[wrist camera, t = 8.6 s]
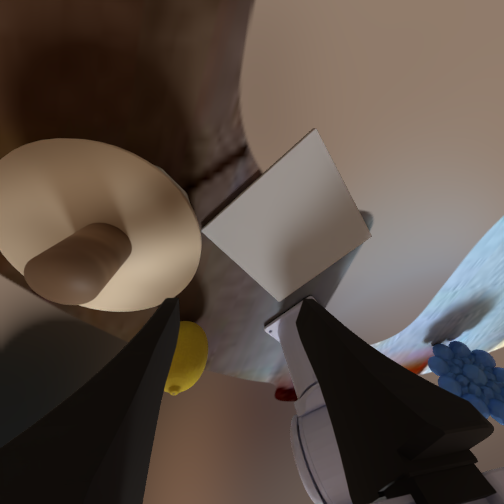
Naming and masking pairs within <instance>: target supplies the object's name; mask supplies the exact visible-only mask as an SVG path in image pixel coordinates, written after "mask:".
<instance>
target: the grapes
mask: <svg viewBox="0 0 504 504" xmlns="http://www.w3.org/2000/svg"><path fill="white" fill-rule="evenodd" d="M448 346H449V347H448ZM448 346H446V345H444V344H435V345H434V346H433V353H434V355H435V356H433V357H430V358H429V360H428V365H429V368H430V369H431V371H432V372H434V373H435V374H436V375H439V376H440V377H439V379H438V385H439V387H441V388H443V389H445V390H447V391H449V392H451V393H453V394H455V395H457V396H459V397H461V398H463V399H465V400H467V401H469V402H470V403H471V404H472V405H473V406H474V407H475V408H476V409H477V410H478V411H479V412H480V413H481V414H482V415H483V416H484V417H485V418H486V419H488V417H489V416H490V415H491V417H492V418H494V419H495V420H496V421H497V422H499V423H500V424H501V425H504V368H499V367H496V368H494V367H495V366H496V363H495V360H494V359H493V357H492V356H491V355H490V354H489V353H487V352H485V351H483V350H477V349H476V350H473V351H472V352H471V351H470V350H469V348H468V347H467V346H466V345H465V344H464V343H462V342H458V341H453V342H450V344H449V345H448Z"/></svg>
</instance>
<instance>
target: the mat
mask: <svg viewBox="0 0 504 504" xmlns="http://www.w3.org/2000/svg"><path fill="white" fill-rule="evenodd" d="M201 231H202V232H203V233H204V234H205V235H206V236H207V237H208V238H209V239H210V240H211V241H213V242H214V243H215V244H216V245H217V246H218V247H219V248H220V249H221V250H222V251H224V252H225V253H226V254H227V255H228V256H229V257H230V258H231V259H232V260H233V261H235V262H236V263H237V264H238V265H239V266H240V267H241V268H242V269H243V270H244V271H246V272H247V273H248V274H249V275H250V276H251V277H252V278H253V279H254V280H255V281H257V282H258V283H259V284H260V285H261V286H262V287H263V288H264V289H265V290H266V291H268V292H269V293H270V294H271V295H272V296H273V297H274V298H275V299H276V300H277V301H279V302H280V301H281V300H283V299H284V298H286V297H287V296H288V295H290V294H291V293H293V292H294V291H296V290H297V289H298V288H300V287H301V286H303V285H304V284H305V283H307V282H308V281H310V280H311V279H312V278H314V277H315V276H317V275H318V274H320V273H321V272H322V271H324V270H325V269H327V268H328V267H329V266H331V265H332V264H334V263H335V262H336V261H338V260H339V259H341V258H342V257H344V256H345V255H346V254H348V253H349V252H351V251H352V250H353V249H355V248H356V247H358V246H359V245H360V244H362V243H363V242H365V241H366V240H368V239H369V238H370V237H372V236H371V234H370V232H369V230H368V228H367V226H366V224H365V222H364V220H363V218H362V216H361V214H360V212H359V210H358V208H357V206H356V204H355V203H354V201H353V199H352V197H351V195H350V193H349V191H348V189H347V187H346V185H345V183H344V181H343V180H342V177H341V175H340V173H339V172H338V170H337V168H336V166H335V164H334V162H333V160H332V158H331V156H330V154H329V152H328V150H327V148H326V146H325V145H324V143H323V141H322V139H321V137H320V135H319V133H318V131H317V129H316V128H314V129H312V130H311V131H310V132H309V133H308V134H306V135H305V136H304V137H303V138H302V139H301V140H300V141H299V142H298V143H296V144H295V145H294V146H293V147H292V148H291V149H290V150H289V151H288V152H287V153H285V154H284V155H283V156H282V157H281V158H280V159H279V160H278V161H276V162H275V163H274V164H273V165H272V166H271V167H270V168H269V169H268V170H266V171H265V172H264V173H263V174H262V175H261V176H260V177H259V178H258V179H256V180H255V181H254V182H253V183H252V184H251V185H250V186H249V187H248V188H246V189H245V190H244V191H243V192H242V193H241V194H240V195H239V196H238V197H236V198H235V199H234V200H233V201H232V202H231V203H230V204H229V205H227V206H226V207H225V208H224V209H223V210H222V211H221V212H220V213H219V214H217V215H216V216H215V217H214V218H213V219H212V220H211V221H210V222H209V223H207V224H206V225H205V226H204V227H203V228H202V229H201Z"/></svg>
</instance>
